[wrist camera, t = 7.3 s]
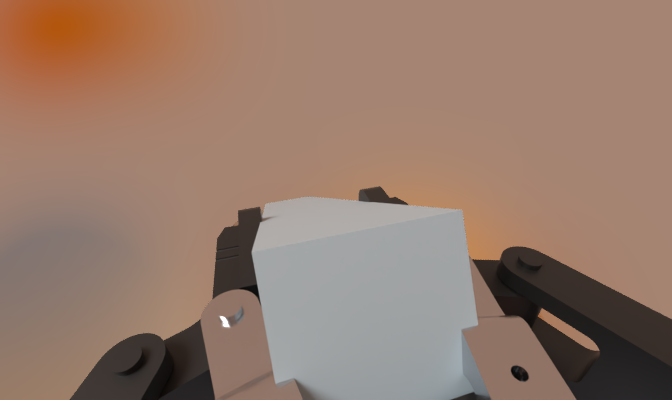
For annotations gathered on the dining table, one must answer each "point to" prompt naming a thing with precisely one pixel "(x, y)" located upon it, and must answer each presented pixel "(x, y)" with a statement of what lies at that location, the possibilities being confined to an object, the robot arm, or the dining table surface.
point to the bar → (365, 298)
